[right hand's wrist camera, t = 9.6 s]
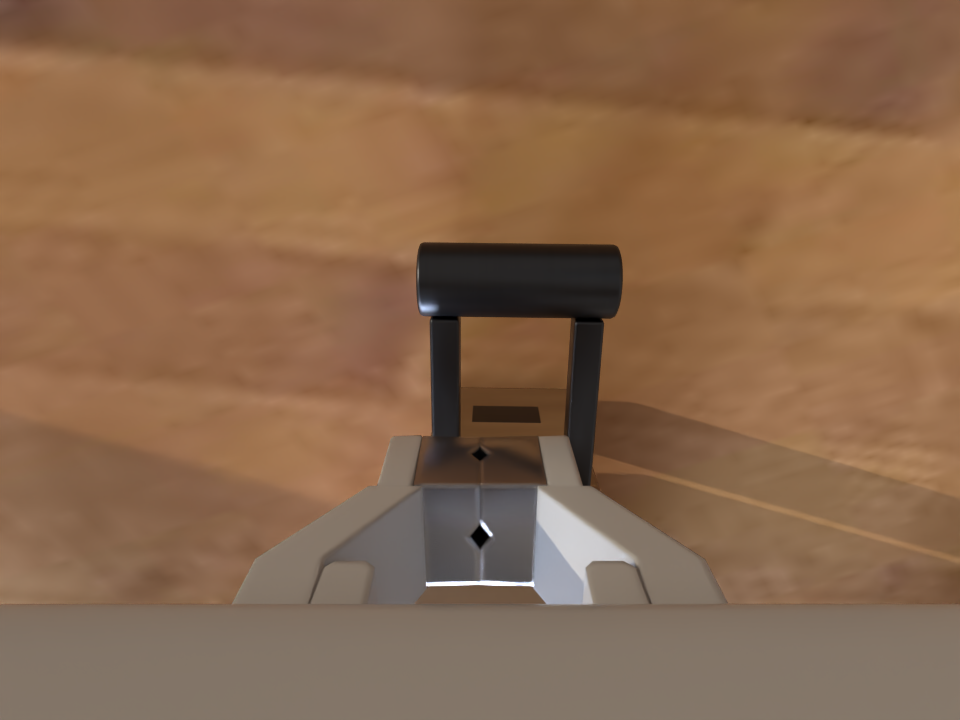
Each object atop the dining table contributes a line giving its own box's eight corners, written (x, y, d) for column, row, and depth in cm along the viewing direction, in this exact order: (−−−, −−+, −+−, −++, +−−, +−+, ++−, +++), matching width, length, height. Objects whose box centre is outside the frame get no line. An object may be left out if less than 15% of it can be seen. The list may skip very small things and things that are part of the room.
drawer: (438, 209, 18) (386, 272, 9) (579, 211, 18) (669, 276, 9) (446, 769, 26) (422, 1097, 17) (543, 771, 26) (571, 1101, 17)
